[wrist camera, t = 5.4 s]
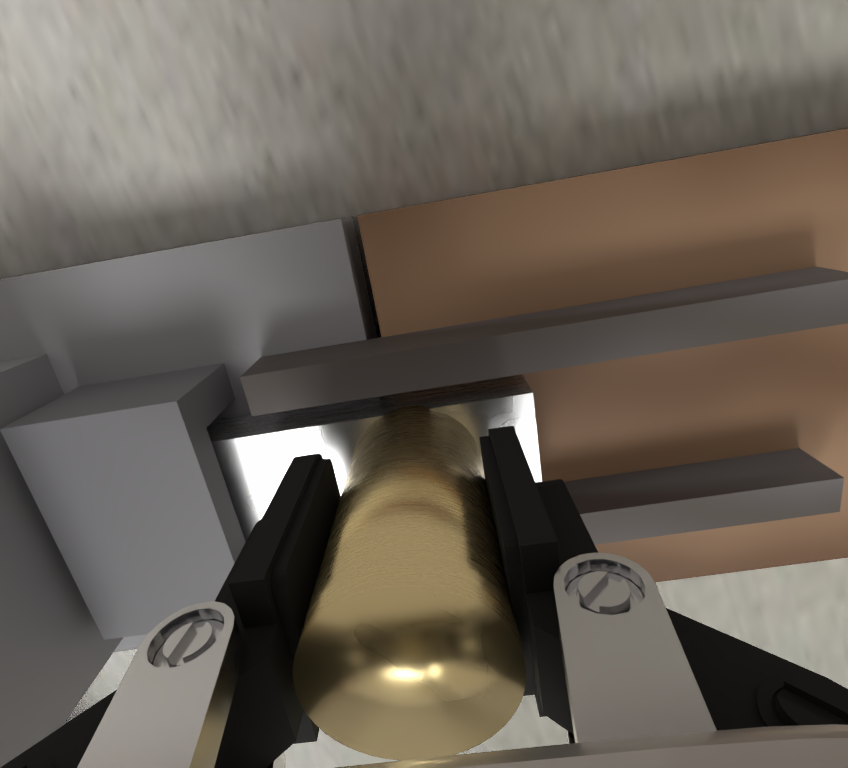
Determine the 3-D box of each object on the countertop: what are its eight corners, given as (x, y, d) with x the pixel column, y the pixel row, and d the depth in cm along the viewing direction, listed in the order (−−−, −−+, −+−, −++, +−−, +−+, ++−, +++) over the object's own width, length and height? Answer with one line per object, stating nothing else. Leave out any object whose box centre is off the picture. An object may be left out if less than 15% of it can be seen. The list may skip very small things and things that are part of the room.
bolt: (532, 475, 14) (633, 737, 7) (191, 524, 15) (-15, 809, 8) (521, 368, 13) (627, 556, 6) (154, 426, 14) (-122, 655, 7)
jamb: (424, 569, 18) (423, 835, 10) (30, 621, 19) (-232, 901, 11) (352, 216, 14) (265, 235, 6) (-144, 304, 15) (-730, 411, 7)
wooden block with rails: (871, 508, 17) (981, 585, 14) (347, 579, 18) (328, 666, 15) (931, 113, 13) (1109, 82, 10) (253, 233, 14) (199, 244, 11)
